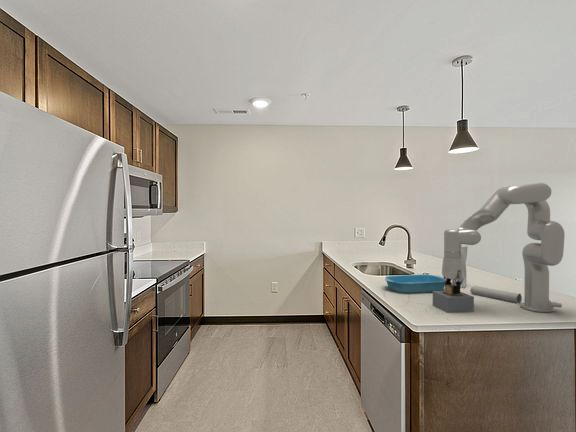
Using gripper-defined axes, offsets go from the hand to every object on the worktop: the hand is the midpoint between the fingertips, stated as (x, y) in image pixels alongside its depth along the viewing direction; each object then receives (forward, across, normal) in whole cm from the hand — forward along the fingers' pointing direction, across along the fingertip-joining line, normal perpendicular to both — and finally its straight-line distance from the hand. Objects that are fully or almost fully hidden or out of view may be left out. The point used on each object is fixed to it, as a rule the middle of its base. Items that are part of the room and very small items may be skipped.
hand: (452, 291), depth 163 cm
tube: (+9, -15, +34) cm, 38 cm away
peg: (+7, 0, 0) cm, 7 cm away
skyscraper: (+9, -43, +33) cm, 55 cm away
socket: (+8, 0, 0) cm, 8 cm away
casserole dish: (+9, -40, +2) cm, 41 cm away
